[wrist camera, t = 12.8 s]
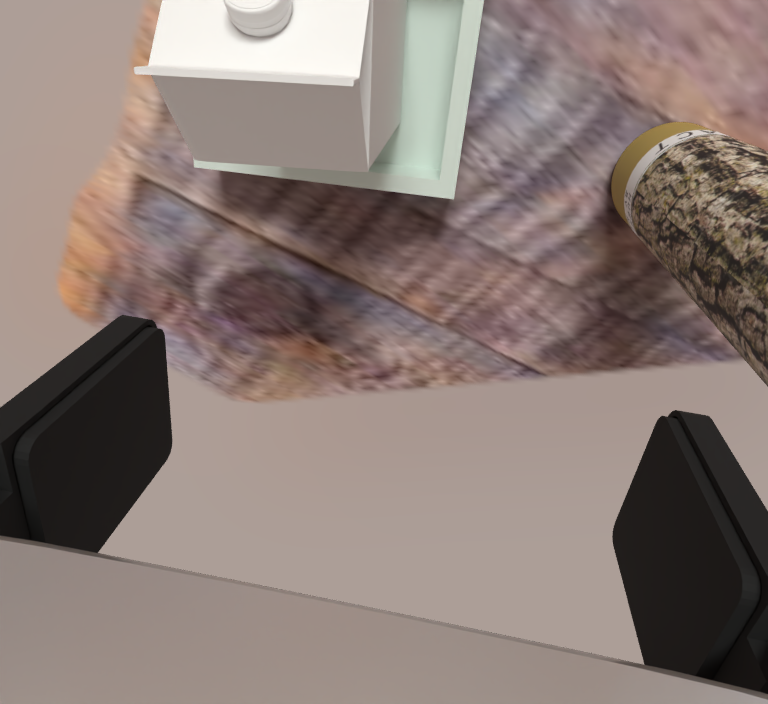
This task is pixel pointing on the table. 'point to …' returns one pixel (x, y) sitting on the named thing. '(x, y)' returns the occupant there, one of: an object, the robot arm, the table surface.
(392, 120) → the milk carton
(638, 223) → the paper tube
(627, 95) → the table surface
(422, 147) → the tray
